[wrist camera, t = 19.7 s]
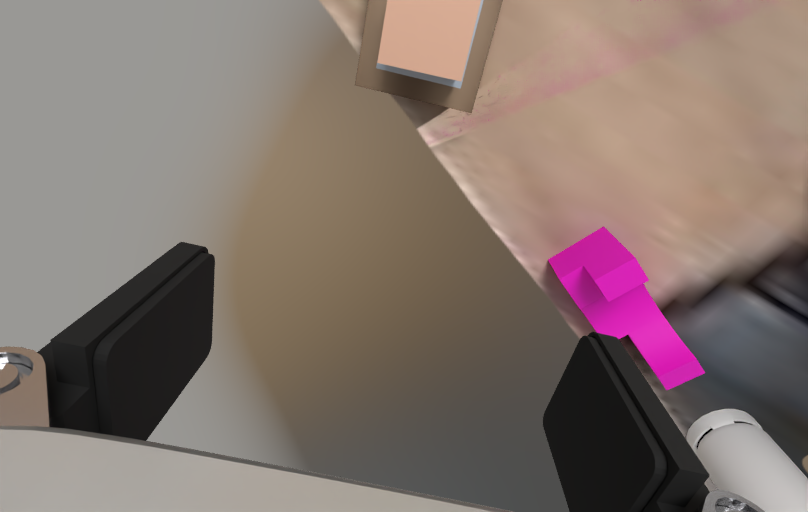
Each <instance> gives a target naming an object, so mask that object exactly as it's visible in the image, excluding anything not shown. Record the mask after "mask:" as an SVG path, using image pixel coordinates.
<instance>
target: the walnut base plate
mask: <svg viewBox="0 0 808 512" xmlns="http://www.w3.org/2000/svg"><path fill="white" fill-rule="evenodd" d="M502 1H503V0H484V1H483V5H482V8H481V12H480V16H479V20H478V24H477V28H476V32H475V35H474V39H473V43H472V47H471V51H470V55H469V58H468V62H467V66H466V70H465V74H464V78H463V82H462V85H461V89H460V88H456V87H451V86H447V85H443V84H439V83H435V82H431V81H427V80H423V79H419V78H414V77H410V76H406V75H402V74H398V73H394V72H390V71H386V70H381V69H377V68H376V66H377V60H378V55H379V49H380V43H381V37H382V30H383V24H384V18H385V12H386V5H387V0H369V1H368V7H367V13H366V19H365V26H364V32H363V38H362V44H361V50H360V57H359V63H358V69H357V76H356V82H355V85H356V86H360V87H365V88H369V89H373V90H377V91H381V92H385V93H389V94H394V95H398V96H402V97H406V98H410V99H414V100H419V101H423V102H427V103H431V104H435V105H439V106H444V107H448V108H452V109H456V110H460V111H464V112H469V113H472V109H473V106H474V102H475V99H476V95H477V91H478V88H479V84H480V81H481V77H482V73H483V70H484V66H485V62H486V59H487V55H488V52H489V48H490V44H491V41H492V37H493V33H494V30H495V26H496V23H497V19H498V15H499V12H500V8H501V5H502Z"/></svg>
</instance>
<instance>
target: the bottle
mask: <svg viewBox="0 0 808 512" xmlns="http://www.w3.org/2000/svg"><path fill="white" fill-rule="evenodd" d="M734 421H743V422H747V423H751V424H753V425H750V424H746V423H734ZM711 428H712V429H713V430H712V431H710V432H709V433H708V434H706V435H705V436H704V437H703V439H702V440H701V441H700V443H699V446H698V449H697V444H698V441H699V439H700V438H701V437H702V435H703V434H704V433H705V432H707V431H708V430H709V429H711ZM686 439H687V442H688V443H689V445H690V446H691V448H692V449H693V451H694V452H695V454H696V455H697V457H698V458H699V460H700V461H701V463H702V464H703V466H704V467H705V469H706V470H707V472H708V473H709V475H710V476H709V477H710V479H711V480H712V482H713V483H714V485H715V486H716V488H717V489H718V490H724V491H729V492H732V493H735V494H737V495H740V496H742V497H744V498H745V499H747V500H749V501H751V502H752V503H754V504H755V505H757V506H758V507H760V508H761V509H762V510H764V511H765V512H808V478H807V477H806V476H805V475H804V474H803V473H802V472H801V470H800V469H799V468H798V467H797V466H796V465H795V464H794V463H793V462H792V460H791V459H790V458H789V457H788V456H787V455H786V454H785V453H784V452H783V450H782V449H781V448H780V447H779V446H778V445H777V444H776V443H775V442H774V440H773V439H772V438H771V437H770V436H769V435H768V434H767V433H766V432H765V431H763V429H762V427H761V426H760V425H759V424H758V423H757V421H756V420H755V419H754V418H753V417H752V416H751V415H749V414H748V413H746V412H745V411H741V410H737V409H722V410H717V411H713V412H710V413H708V414H706V415H704V416H702V417H700V418H699V419H698V420H696V421H695V422H694V423H693V424H692V426H691V427H690V428H689V430H688V433H687V436H686Z"/></svg>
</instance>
